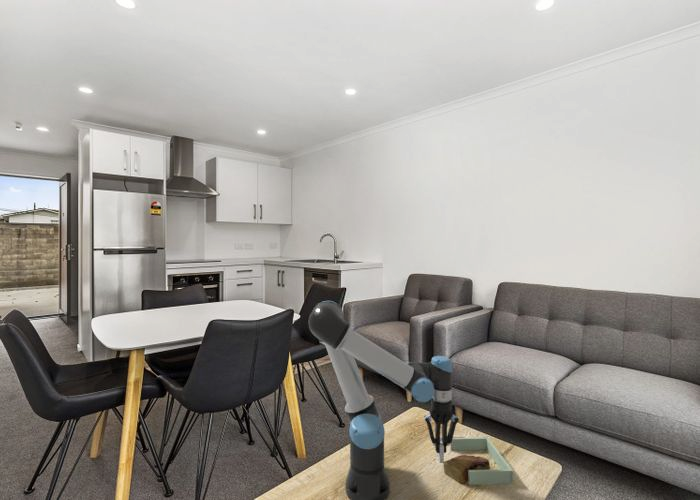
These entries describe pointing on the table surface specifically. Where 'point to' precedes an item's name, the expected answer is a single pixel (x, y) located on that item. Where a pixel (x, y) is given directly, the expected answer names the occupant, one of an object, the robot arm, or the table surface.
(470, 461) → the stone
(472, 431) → the table surface
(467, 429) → the table surface
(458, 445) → the mint green u-channel
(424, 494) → the table surface
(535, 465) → the table surface
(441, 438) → the trowel
